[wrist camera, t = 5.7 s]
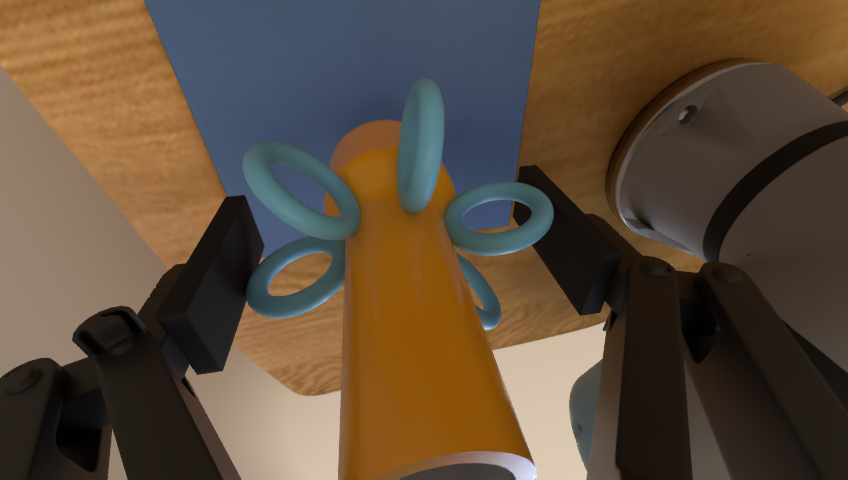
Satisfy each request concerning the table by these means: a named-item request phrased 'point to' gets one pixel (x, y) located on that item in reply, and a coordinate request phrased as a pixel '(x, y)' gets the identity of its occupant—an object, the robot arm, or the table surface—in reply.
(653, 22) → the table surface
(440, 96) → the cylinder
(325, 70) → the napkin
